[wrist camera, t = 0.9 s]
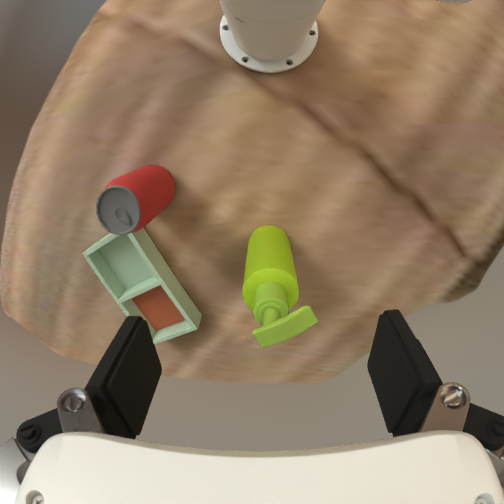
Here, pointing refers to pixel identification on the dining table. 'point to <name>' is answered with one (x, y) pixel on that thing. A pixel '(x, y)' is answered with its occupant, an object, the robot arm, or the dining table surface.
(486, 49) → the dining table surface
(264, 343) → the soap dispenser
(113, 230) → the beer can
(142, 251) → the divided tray
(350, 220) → the dining table surface
